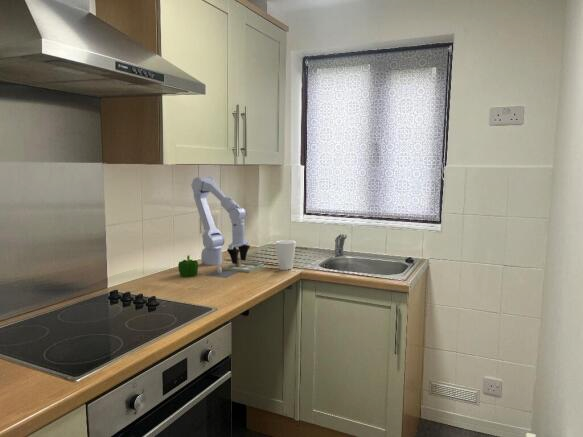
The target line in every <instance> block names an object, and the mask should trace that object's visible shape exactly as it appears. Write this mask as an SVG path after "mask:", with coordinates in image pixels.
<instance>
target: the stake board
mask: <svg viewBox="0 0 583 437" xmlns="http://www.w3.org/2000/svg"><path fill="white" fill-rule="evenodd" d="M238 273H240V271H232V270H224V269H222V266H217V270H215V271H212V272H210V273H207V274H204V275H205V277H216V278H223V279H227V278H230V277H232V276H234V275H236V274H238Z"/></svg>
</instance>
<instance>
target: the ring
mask: <svg viewBox="0 0 583 437" xmlns="http://www.w3.org/2000/svg"><path fill="white" fill-rule="evenodd" d="M241 262H242V260H241V258H240V257H238V260H237V264H235V266H234V267H231V268H239V269H248V270H249V269H251V268H254V267H256V266H251V265H241Z"/></svg>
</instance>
